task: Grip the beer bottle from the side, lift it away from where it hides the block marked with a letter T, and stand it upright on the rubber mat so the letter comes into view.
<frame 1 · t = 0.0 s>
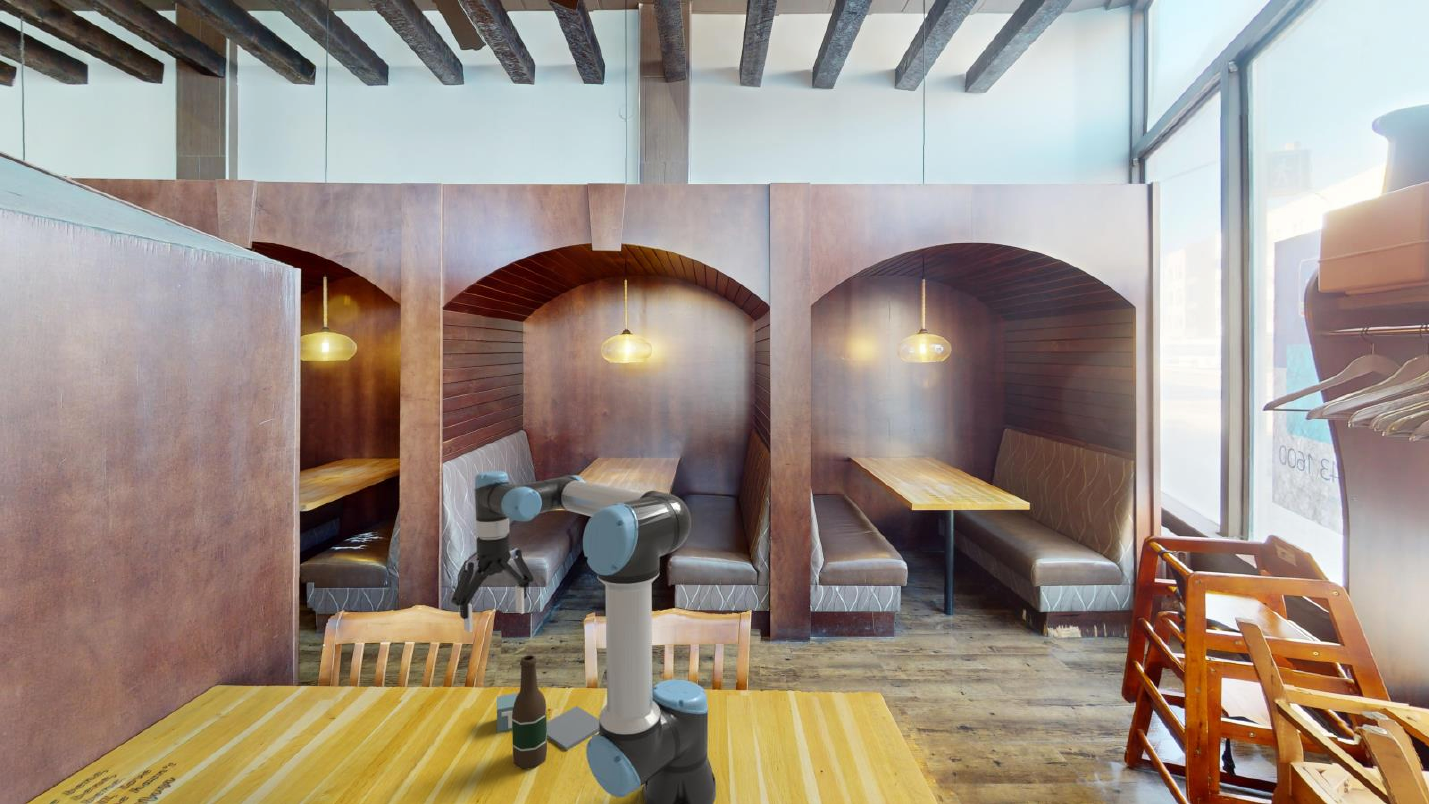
hand: (495, 621, 144), 28 cm above the table, tool pointing down, fingers open, 13 cm apart
beer bottle: (530, 759, 135), on the table
mat: (571, 728, 147), on the table
letter block: (510, 723, 149), on the table
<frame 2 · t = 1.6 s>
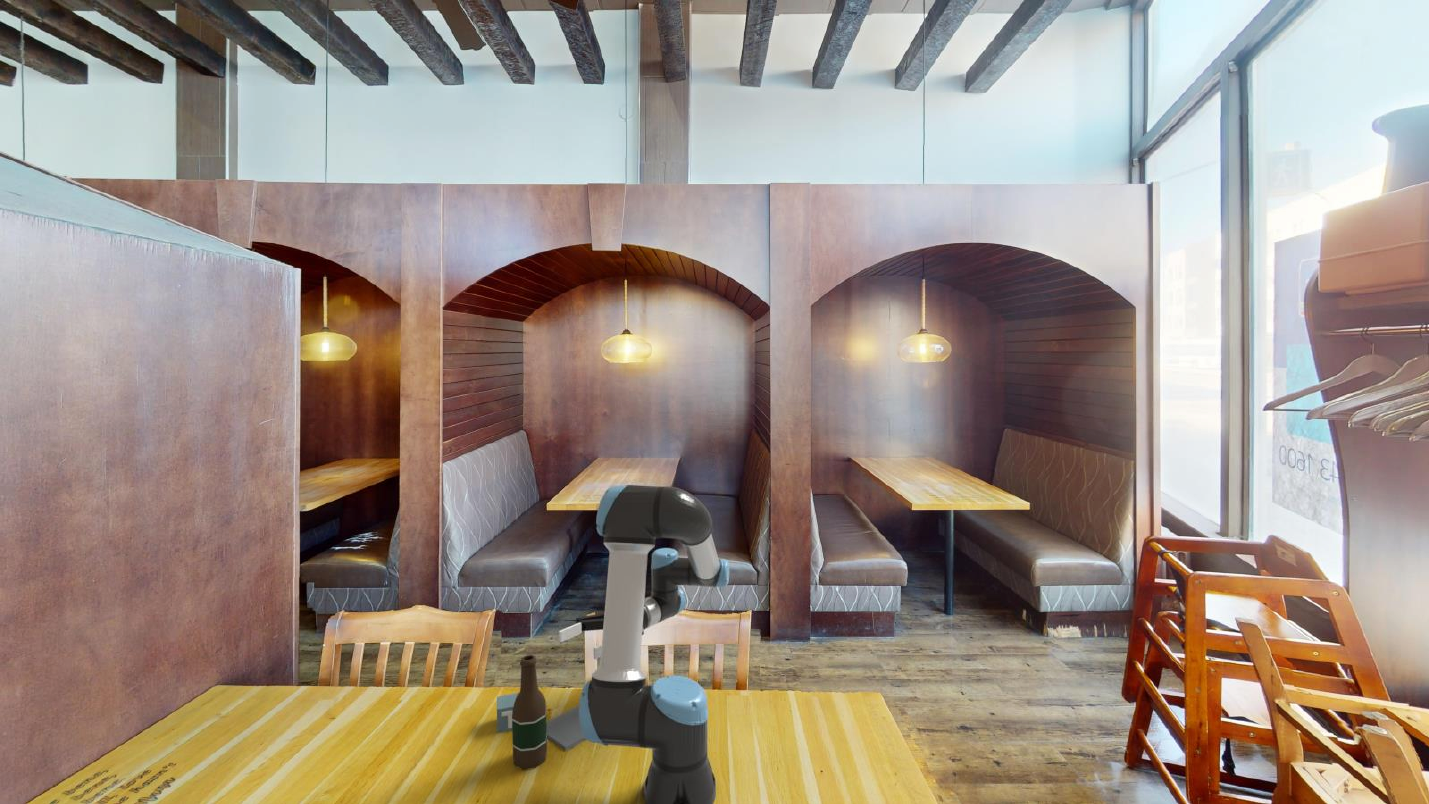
hand: (576, 645, 144), 22 cm above the table, tool horizontal, fingers open, 13 cm apart
nothing on the table moved.
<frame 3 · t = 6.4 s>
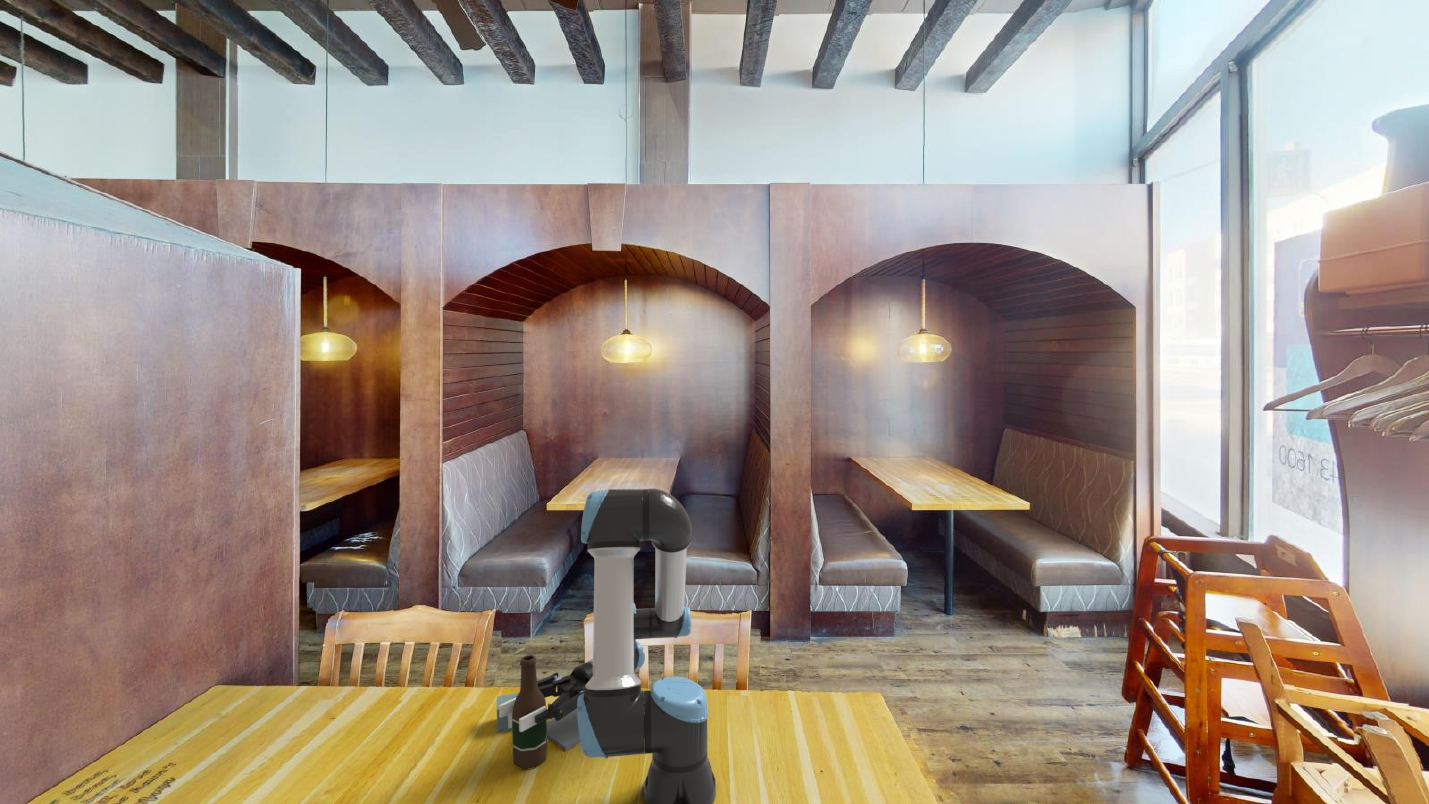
hand: (510, 718, 131), 12 cm above the table, tool horizontal, fingers closed on beer bottle, 7 cm apart
beer bottle: (530, 759, 135), on the table, touching gripper
everything else where it was.
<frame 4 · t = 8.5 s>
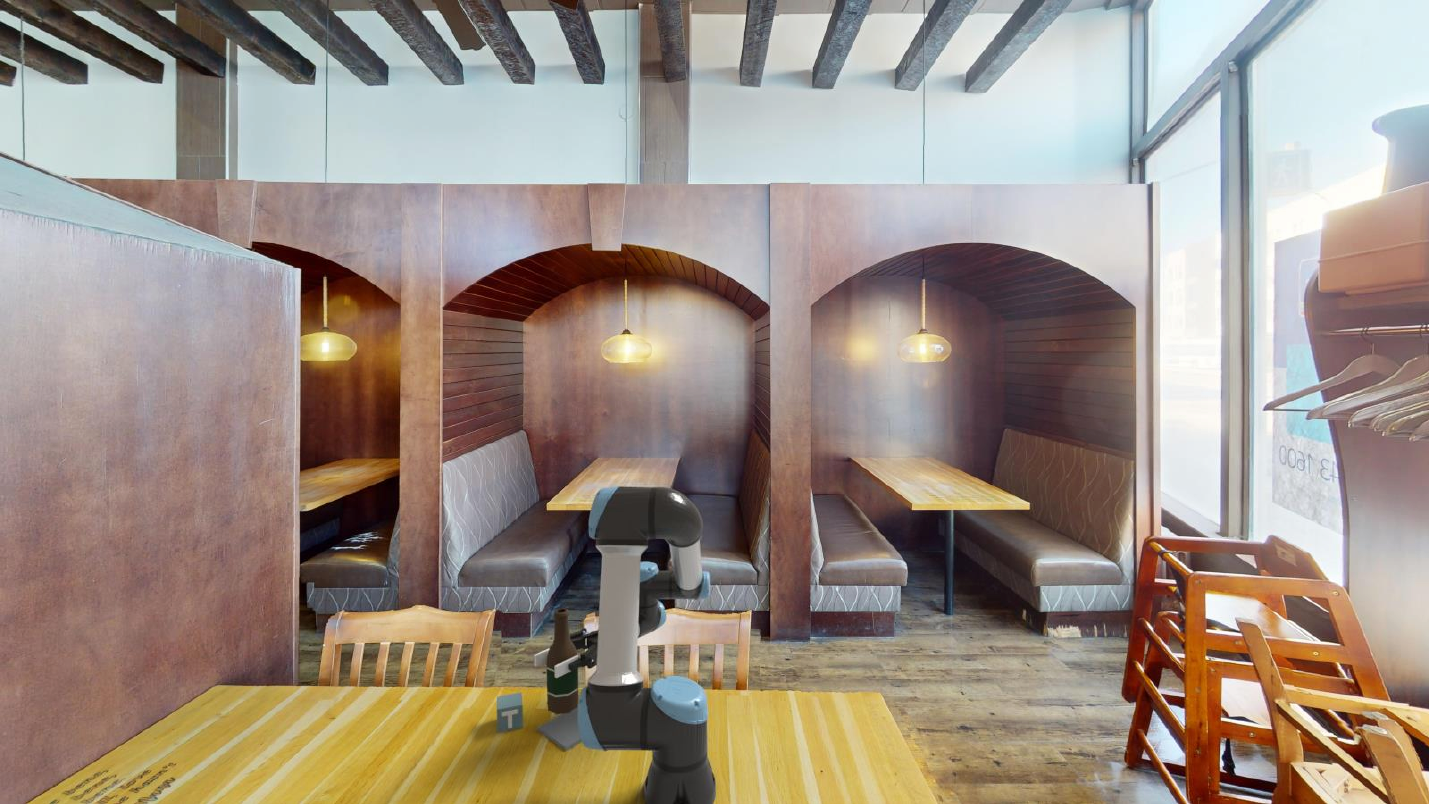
hand: (545, 666, 140), 19 cm above the table, tool horizontal, fingers closed on beer bottle, 7 cm apart
beer bottle: (563, 706, 144), point 7 cm above the table, touching gripper
everything else where it was.
when the fingers open (14 cm above the table, at t = 10.8 s): beer bottle drops 1 cm, resting on mat.
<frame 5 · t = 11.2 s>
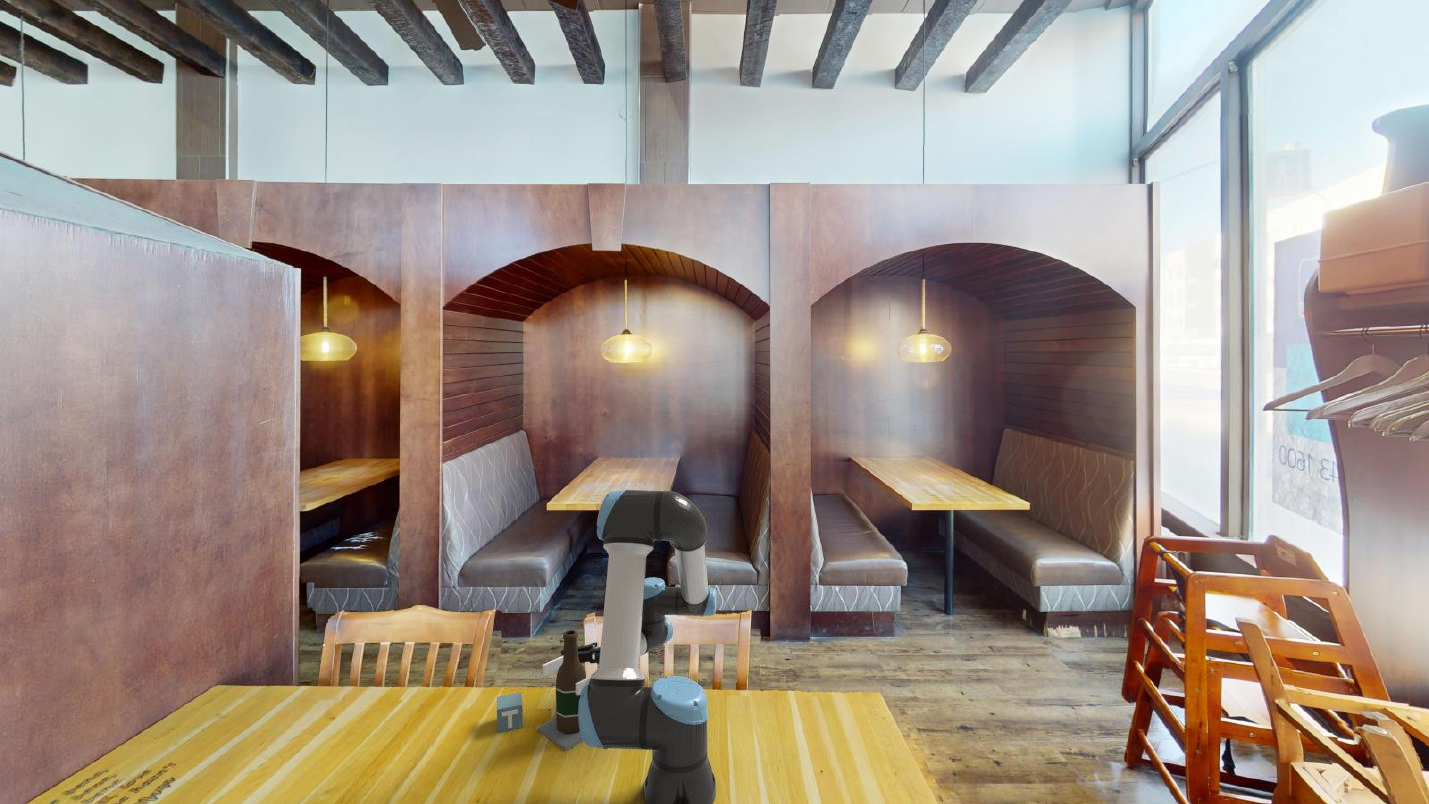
hand: (559, 679, 143), 14 cm above the table, tool horizontal, fingers open, 13 cm apart
beer bottle: (571, 725, 147), point 1 cm above the table, touching mat
everything else where it was.
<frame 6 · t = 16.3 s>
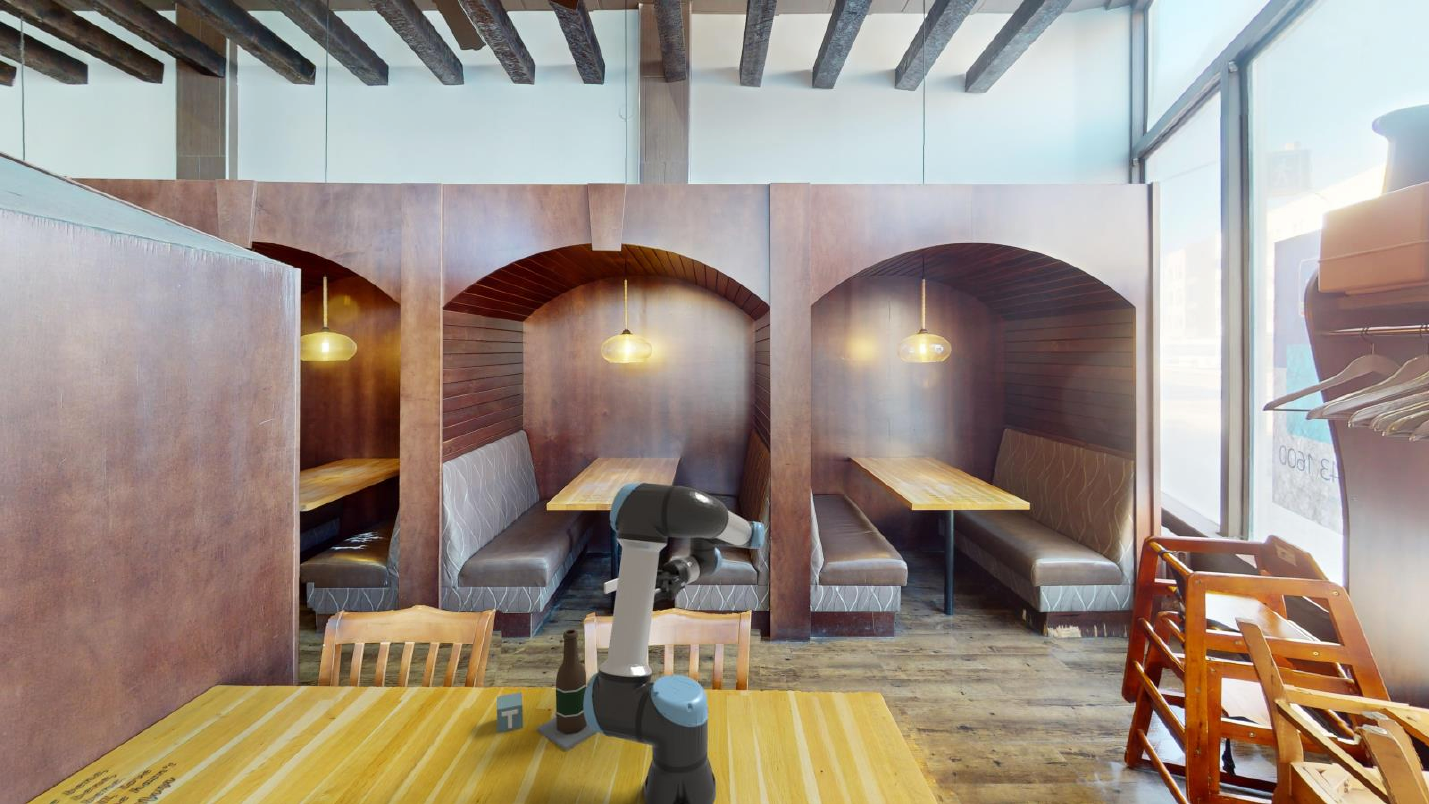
hand: (622, 595, 150), 32 cm above the table, tool horizontal, fingers open, 13 cm apart
nothing on the table moved.
at the end: beer bottle inside the target area on the mat (0.1 cm from its centre), point 0.6 cm above the mat's base; beer bottle tilted 0°; letter block moved 0.1 cm from its start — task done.
